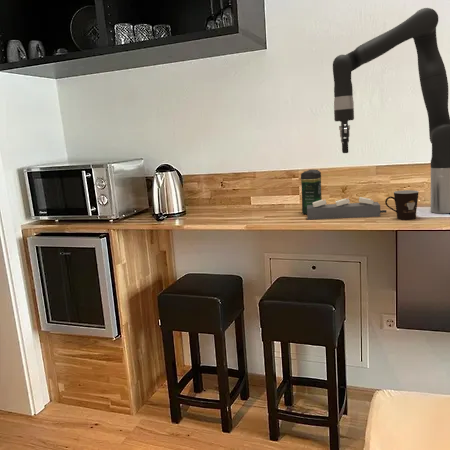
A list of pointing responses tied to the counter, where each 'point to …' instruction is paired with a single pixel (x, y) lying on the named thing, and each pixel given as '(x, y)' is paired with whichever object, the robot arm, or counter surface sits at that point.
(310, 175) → the coffee jar
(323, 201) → the far rocker
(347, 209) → the power strip
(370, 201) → the near rocker
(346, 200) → the middle rocker
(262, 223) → the counter surface
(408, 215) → the coffee mug
